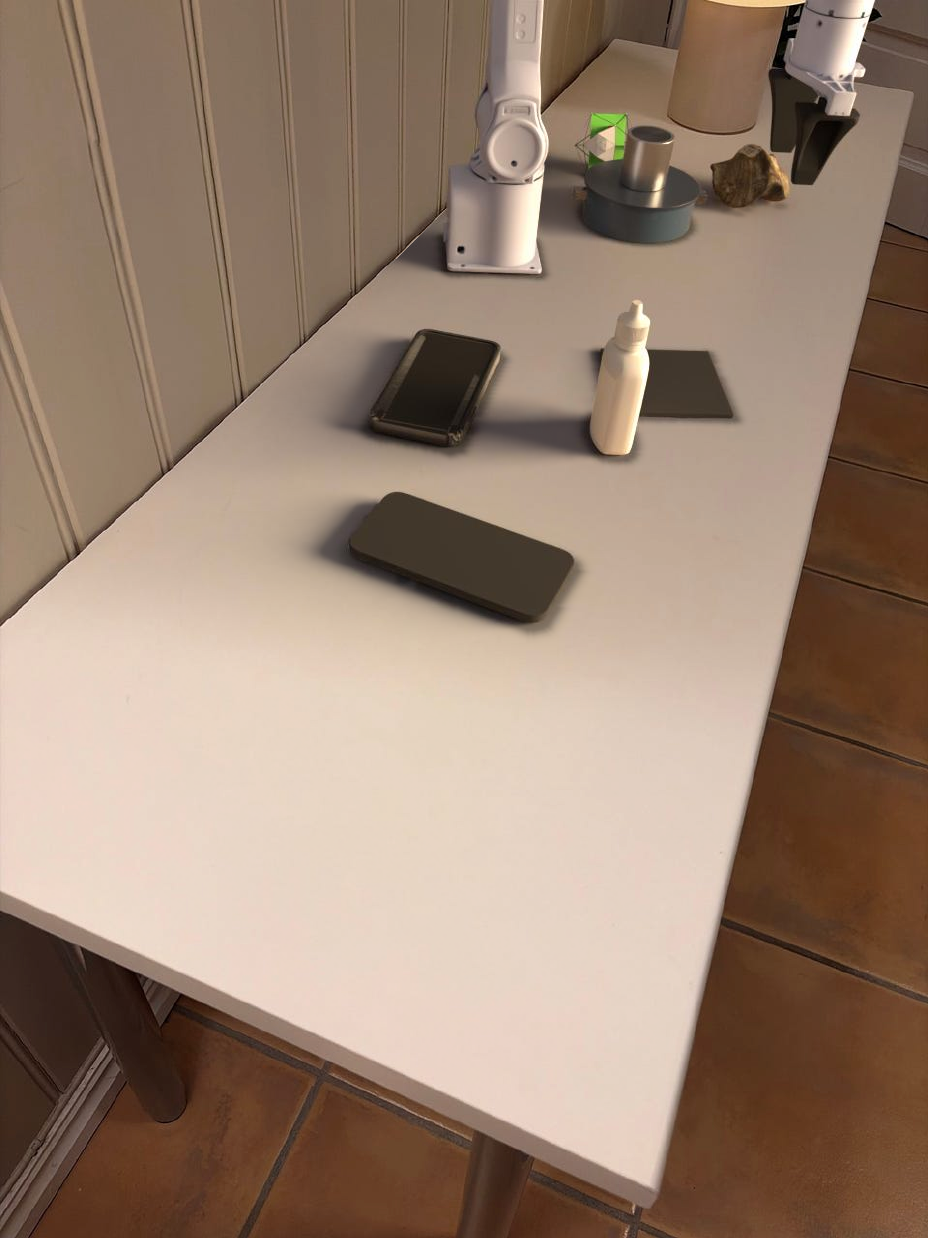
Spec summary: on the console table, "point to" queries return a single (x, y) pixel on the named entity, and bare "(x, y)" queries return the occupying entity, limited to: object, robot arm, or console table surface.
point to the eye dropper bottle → (621, 384)
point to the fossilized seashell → (749, 178)
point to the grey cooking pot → (638, 205)
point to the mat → (683, 386)
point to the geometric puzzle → (605, 138)
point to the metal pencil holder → (646, 158)
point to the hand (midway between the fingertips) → (790, 166)
